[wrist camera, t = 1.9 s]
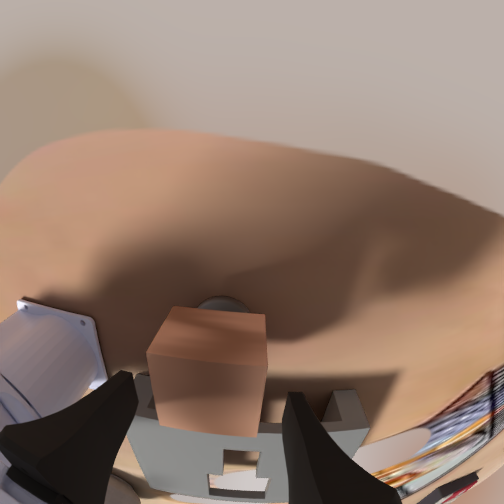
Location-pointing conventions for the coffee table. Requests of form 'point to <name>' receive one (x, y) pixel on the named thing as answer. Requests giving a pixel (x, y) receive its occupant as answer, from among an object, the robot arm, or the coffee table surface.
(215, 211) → the coffee table surface
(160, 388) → the peg
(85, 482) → the robot arm
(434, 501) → the red and grey box
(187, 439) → the keyhole plate
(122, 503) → the coffee pot
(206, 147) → the coffee table surface
